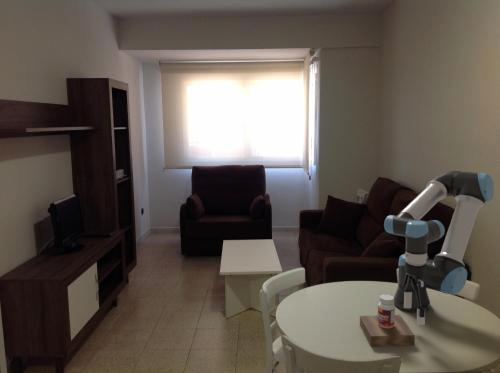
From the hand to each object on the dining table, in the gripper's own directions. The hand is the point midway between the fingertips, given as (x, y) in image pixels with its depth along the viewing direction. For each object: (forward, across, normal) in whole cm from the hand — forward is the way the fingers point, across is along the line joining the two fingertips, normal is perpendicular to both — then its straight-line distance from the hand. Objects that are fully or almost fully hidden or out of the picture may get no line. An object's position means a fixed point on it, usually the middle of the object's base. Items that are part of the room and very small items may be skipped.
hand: (413, 315), depth 167 cm
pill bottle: (+4, 0, -11) cm, 11 cm away
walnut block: (+7, 0, -10) cm, 13 cm away
